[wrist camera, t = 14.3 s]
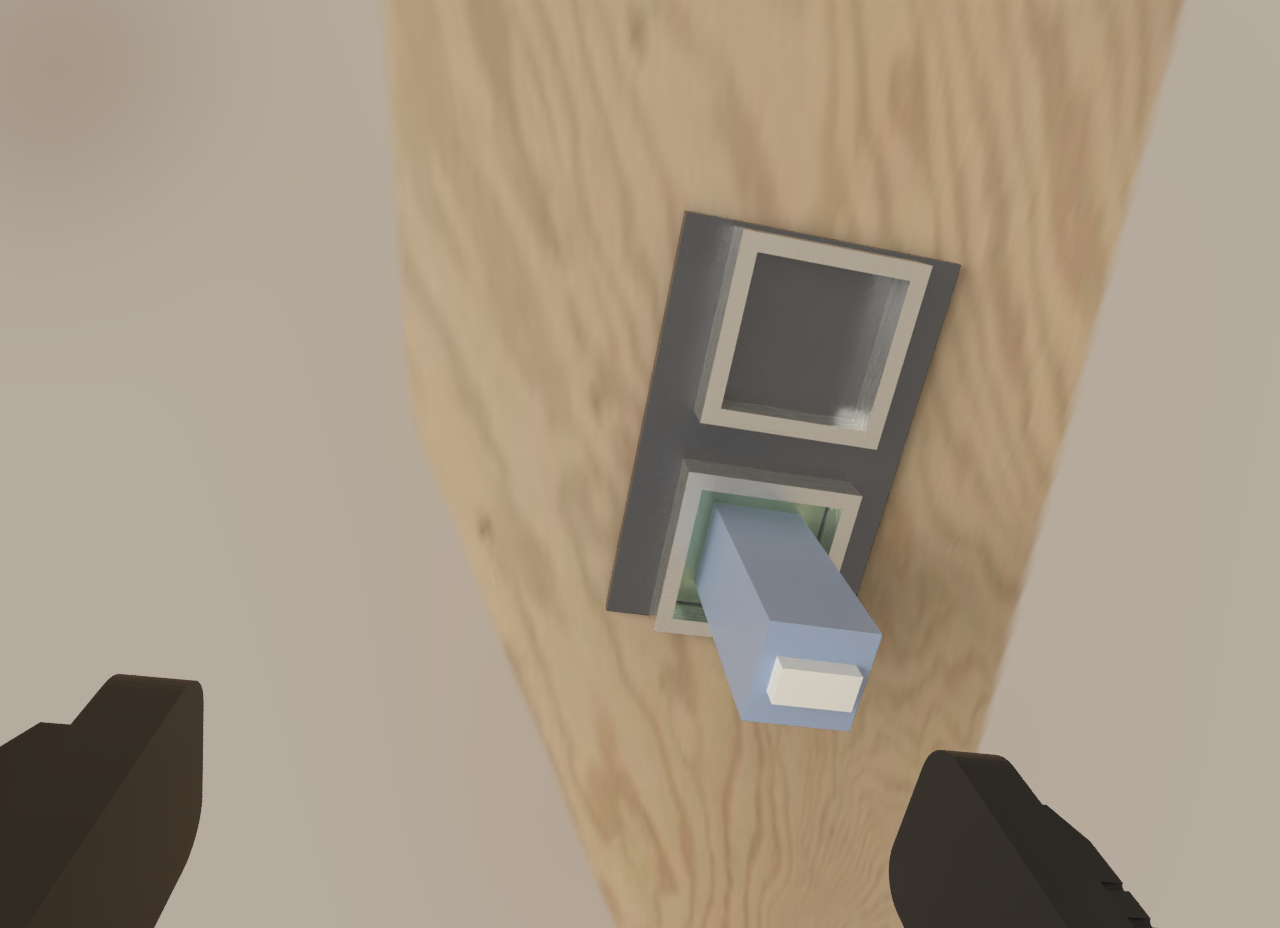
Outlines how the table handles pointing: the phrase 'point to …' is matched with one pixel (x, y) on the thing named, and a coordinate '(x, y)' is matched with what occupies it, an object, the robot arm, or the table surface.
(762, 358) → the panel
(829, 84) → the table surface
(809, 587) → the plug
